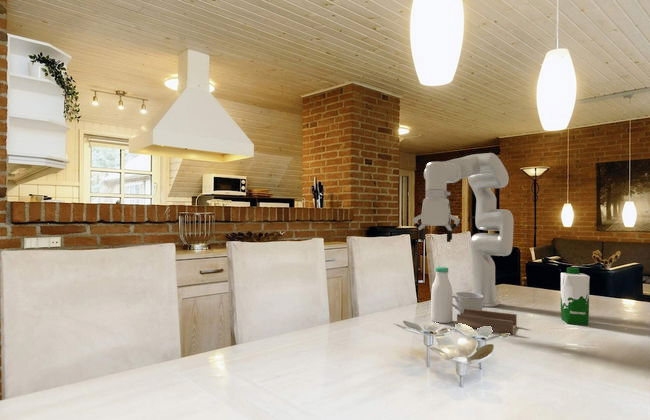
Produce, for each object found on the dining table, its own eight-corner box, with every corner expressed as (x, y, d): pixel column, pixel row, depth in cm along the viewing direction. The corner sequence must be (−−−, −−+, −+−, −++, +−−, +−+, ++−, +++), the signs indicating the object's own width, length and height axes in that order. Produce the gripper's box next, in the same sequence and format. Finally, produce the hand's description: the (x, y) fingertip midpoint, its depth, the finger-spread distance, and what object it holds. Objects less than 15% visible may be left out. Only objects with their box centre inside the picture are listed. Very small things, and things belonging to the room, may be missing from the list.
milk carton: (583, 320, 162) (583, 267, 162) (592, 326, 153) (592, 270, 153) (558, 318, 164) (558, 266, 164) (565, 324, 155) (565, 269, 155)
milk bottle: (453, 324, 154) (453, 269, 154) (431, 323, 155) (431, 268, 155) (451, 319, 161) (451, 266, 161) (430, 318, 163) (430, 265, 163)
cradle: (464, 320, 160) (464, 308, 160) (516, 326, 151) (516, 314, 151) (456, 327, 149) (457, 314, 149) (512, 335, 140) (512, 321, 140)
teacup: (479, 311, 175) (479, 292, 175) (486, 317, 164) (486, 297, 164) (444, 310, 177) (445, 291, 177) (450, 316, 166) (450, 295, 166)
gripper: (461, 195, 157) (461, 241, 157) (415, 196, 165) (415, 240, 165) (457, 194, 151) (457, 242, 150) (410, 195, 159) (409, 240, 158)
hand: (435, 241), depth 158 cm, fingers open, 9 cm apart
